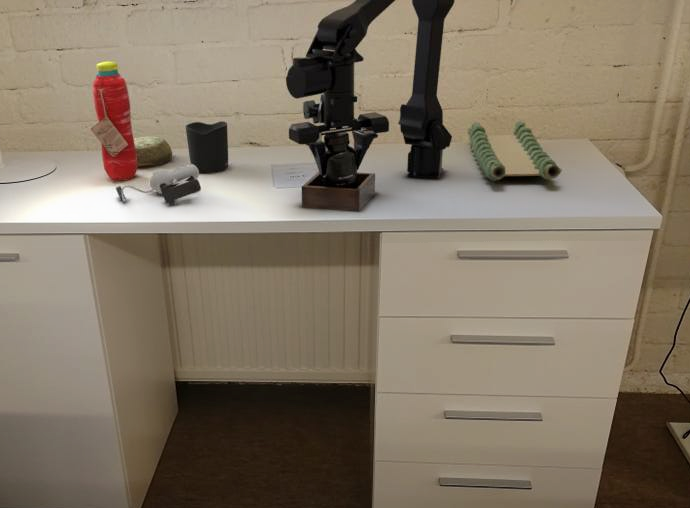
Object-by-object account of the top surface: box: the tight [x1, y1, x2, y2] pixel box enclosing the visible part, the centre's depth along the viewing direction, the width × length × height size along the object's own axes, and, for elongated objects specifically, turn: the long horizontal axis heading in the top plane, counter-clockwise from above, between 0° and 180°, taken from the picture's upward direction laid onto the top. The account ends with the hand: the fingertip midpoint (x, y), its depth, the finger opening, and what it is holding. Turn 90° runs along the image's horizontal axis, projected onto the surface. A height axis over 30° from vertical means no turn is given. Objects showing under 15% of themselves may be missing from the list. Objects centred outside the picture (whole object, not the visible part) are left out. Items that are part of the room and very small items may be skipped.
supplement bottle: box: [322, 132, 358, 189], centre depth 151 cm, size 7×7×12 cm
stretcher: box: [467, 120, 563, 182], centre depth 170 cm, size 41×14×5 cm, turn 173°
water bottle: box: [90, 61, 139, 182], centre depth 171 cm, size 12×8×25 cm, turn 164°
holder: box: [301, 171, 376, 212], centre depth 154 cm, size 12×12×4 cm
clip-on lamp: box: [115, 163, 202, 206], centre depth 161 cm, size 12×6×18 cm
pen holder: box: [185, 120, 229, 174], centre depth 178 cm, size 9×9×10 cm
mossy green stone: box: [133, 136, 173, 167], centre depth 188 cm, size 14×13×5 cm
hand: (339, 172), depth 152 cm, fingers closed on supplement bottle, 7 cm apart
